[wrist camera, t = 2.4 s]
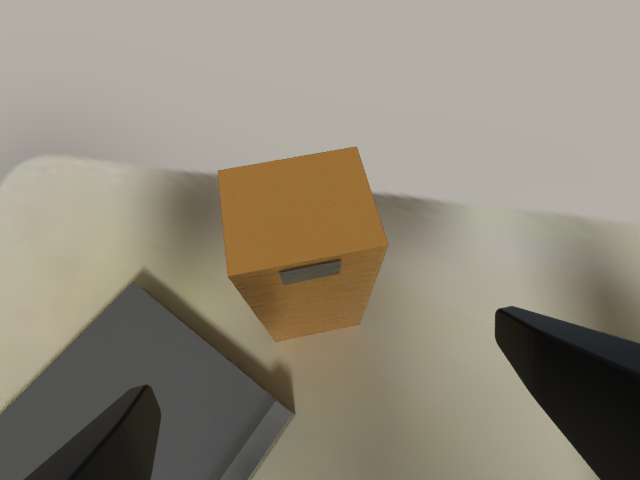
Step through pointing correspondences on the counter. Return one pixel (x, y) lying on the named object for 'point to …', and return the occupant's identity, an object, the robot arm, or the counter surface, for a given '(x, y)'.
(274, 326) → the block
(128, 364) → the dark grey tray
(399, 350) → the counter surface
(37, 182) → the counter surface
